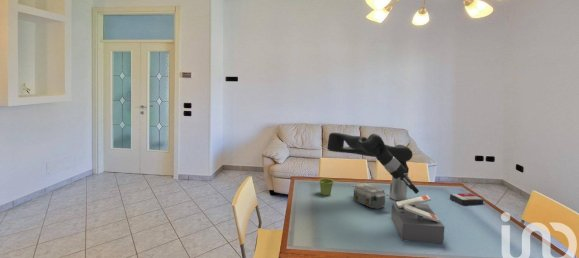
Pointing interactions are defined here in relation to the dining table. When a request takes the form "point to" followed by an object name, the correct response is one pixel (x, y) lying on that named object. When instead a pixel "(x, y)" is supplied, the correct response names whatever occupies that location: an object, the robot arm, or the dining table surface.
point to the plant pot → (326, 186)
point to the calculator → (466, 199)
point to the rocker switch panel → (417, 225)
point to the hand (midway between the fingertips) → (417, 192)
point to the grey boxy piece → (369, 195)
